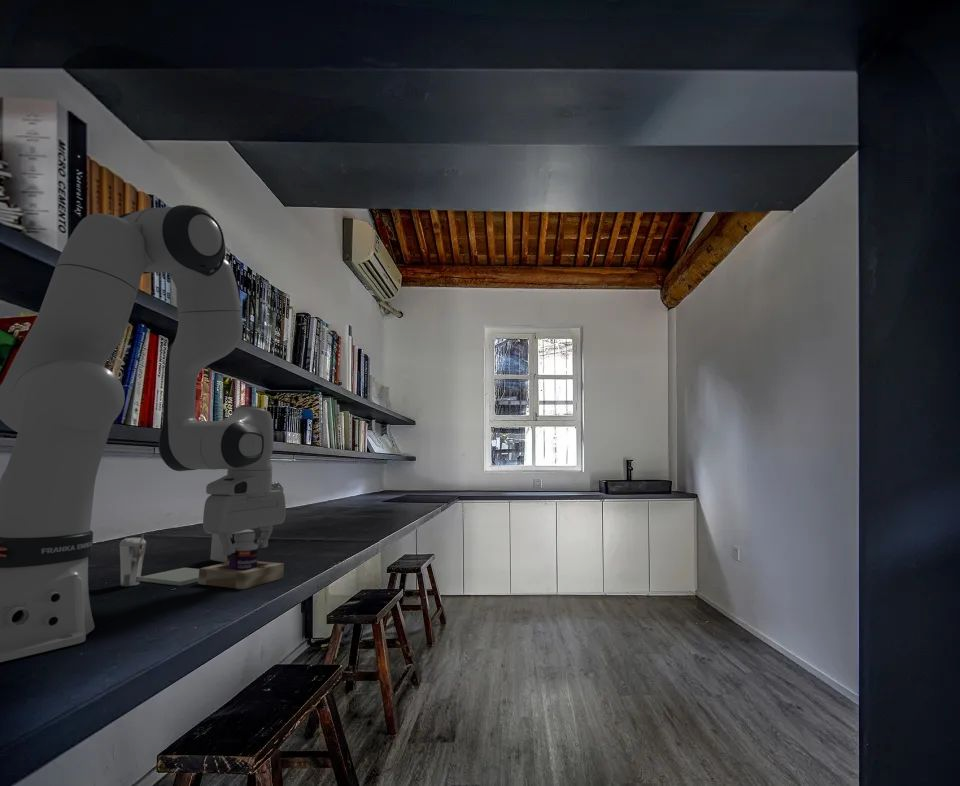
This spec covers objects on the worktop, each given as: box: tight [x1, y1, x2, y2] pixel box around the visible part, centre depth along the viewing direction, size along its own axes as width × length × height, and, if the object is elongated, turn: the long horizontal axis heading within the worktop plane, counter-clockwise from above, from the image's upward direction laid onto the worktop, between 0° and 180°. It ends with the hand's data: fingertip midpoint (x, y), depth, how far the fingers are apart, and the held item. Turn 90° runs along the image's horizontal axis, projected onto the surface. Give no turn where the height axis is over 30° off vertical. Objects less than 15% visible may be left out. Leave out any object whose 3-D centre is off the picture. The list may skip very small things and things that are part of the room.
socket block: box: [197, 560, 285, 590], centre depth 118 cm, size 12×12×3 cm
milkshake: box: [119, 533, 147, 587], centre depth 113 cm, size 4×5×10 cm
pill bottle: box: [229, 531, 259, 571], centre depth 118 cm, size 5×5×10 cm
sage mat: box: [140, 567, 199, 587], centre depth 119 cm, size 11×11×1 cm
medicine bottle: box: [209, 529, 255, 563], centre depth 142 cm, size 7×7×12 cm
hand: (246, 550), depth 118 cm, fingers open, 8 cm apart
